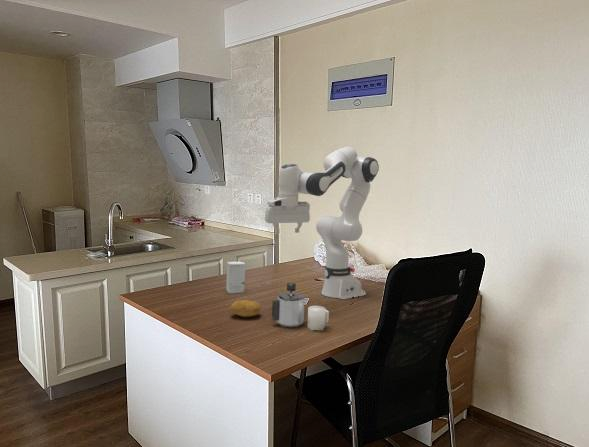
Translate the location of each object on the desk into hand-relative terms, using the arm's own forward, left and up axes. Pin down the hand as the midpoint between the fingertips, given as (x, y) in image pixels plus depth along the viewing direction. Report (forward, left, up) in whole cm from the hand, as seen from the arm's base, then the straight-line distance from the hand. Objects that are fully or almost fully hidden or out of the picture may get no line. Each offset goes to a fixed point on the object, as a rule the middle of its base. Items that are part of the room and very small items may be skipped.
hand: (287, 232), depth 193 cm
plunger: (+5, +19, -33) cm, 38 cm away
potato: (+20, +6, -34) cm, 40 cm away
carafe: (+6, +19, -34) cm, 39 cm away
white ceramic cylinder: (-3, +27, -34) cm, 44 cm away
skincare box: (+15, -30, -34) cm, 48 cm away
